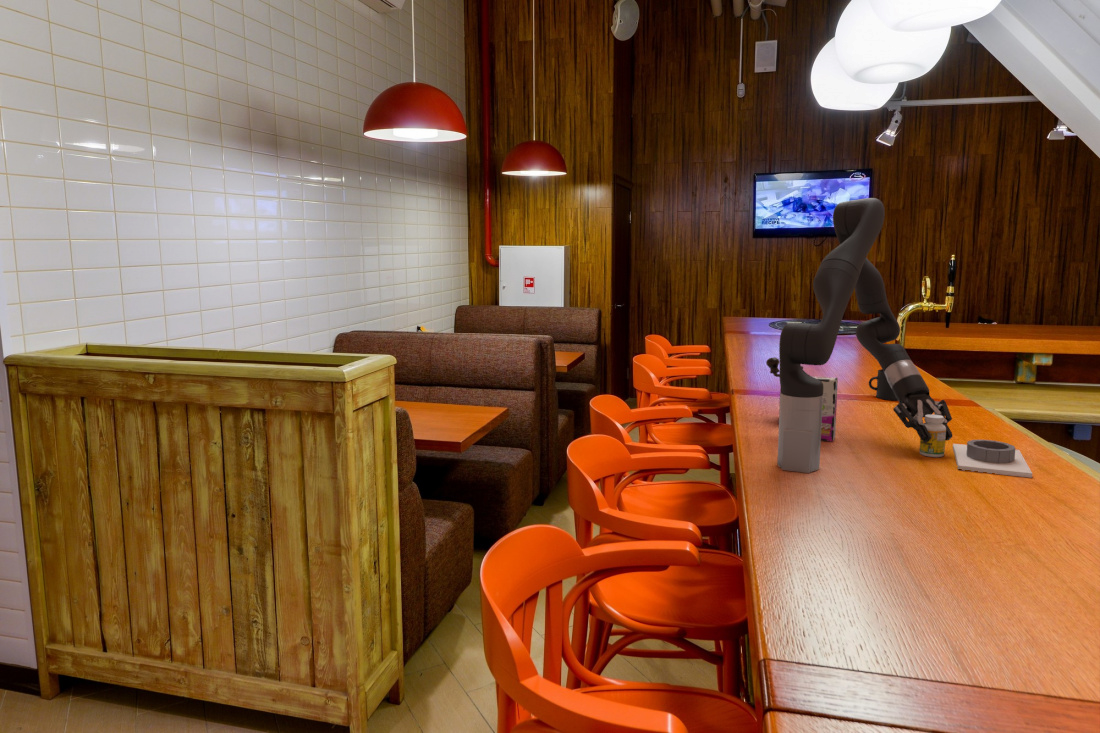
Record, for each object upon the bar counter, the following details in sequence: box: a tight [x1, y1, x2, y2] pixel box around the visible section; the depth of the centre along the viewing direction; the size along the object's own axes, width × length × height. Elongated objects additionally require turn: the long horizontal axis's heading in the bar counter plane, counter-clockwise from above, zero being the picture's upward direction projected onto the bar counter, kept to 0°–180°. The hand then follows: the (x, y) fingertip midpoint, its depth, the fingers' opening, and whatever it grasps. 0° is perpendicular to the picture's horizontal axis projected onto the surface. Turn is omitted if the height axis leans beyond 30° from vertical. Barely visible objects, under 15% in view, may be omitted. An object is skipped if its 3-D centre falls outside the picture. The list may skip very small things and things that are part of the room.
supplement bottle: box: [919, 413, 946, 458], centre depth 173 cm, size 5×5×10 cm
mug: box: [868, 368, 899, 402], centre depth 238 cm, size 9×12×9 cm
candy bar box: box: [812, 375, 839, 443], centre depth 189 cm, size 11×5×16 cm, turn 62°
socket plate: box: [952, 439, 1033, 478], centre depth 167 cm, size 20×14×4 cm
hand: (938, 439), depth 171 cm, fingers closed on supplement bottle, 5 cm apart
